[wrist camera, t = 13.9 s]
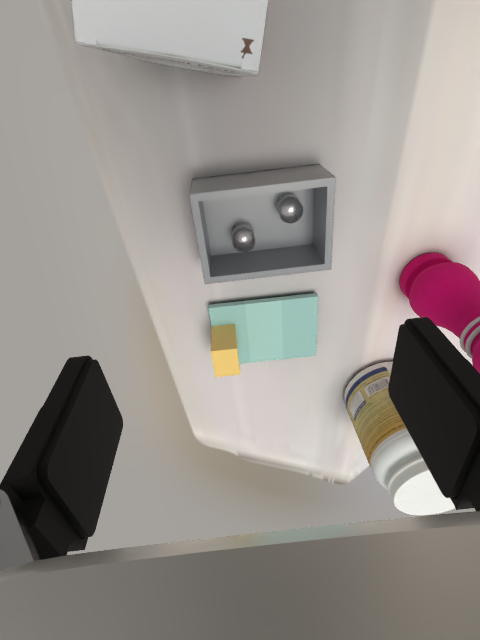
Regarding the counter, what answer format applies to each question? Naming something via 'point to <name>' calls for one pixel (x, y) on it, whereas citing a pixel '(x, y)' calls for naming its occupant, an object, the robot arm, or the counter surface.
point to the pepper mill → (446, 298)
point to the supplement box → (176, 32)
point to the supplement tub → (391, 444)
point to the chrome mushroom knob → (289, 208)
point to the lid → (262, 331)
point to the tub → (264, 222)
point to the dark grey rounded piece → (243, 237)
